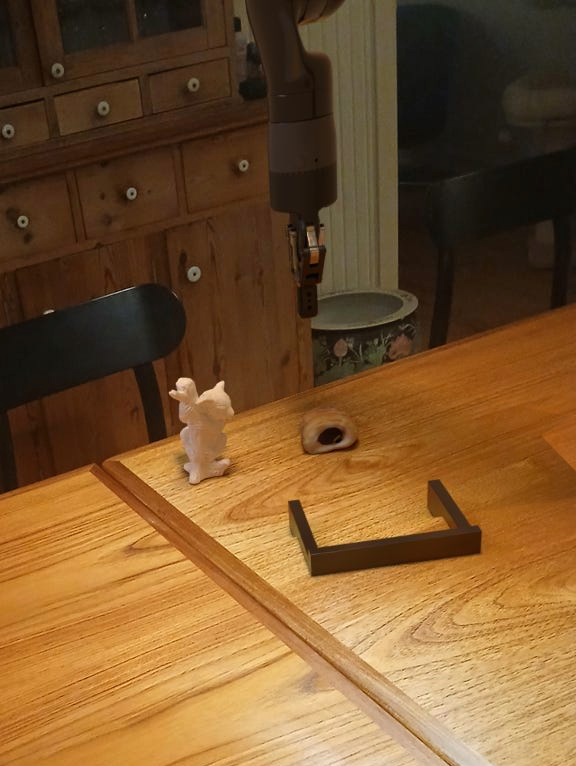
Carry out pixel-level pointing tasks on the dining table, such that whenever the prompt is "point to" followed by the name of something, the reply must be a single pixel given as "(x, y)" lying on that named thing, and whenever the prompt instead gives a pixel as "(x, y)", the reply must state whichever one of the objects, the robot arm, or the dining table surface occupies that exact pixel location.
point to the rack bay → (391, 540)
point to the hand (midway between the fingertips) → (307, 315)
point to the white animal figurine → (203, 428)
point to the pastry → (327, 430)
